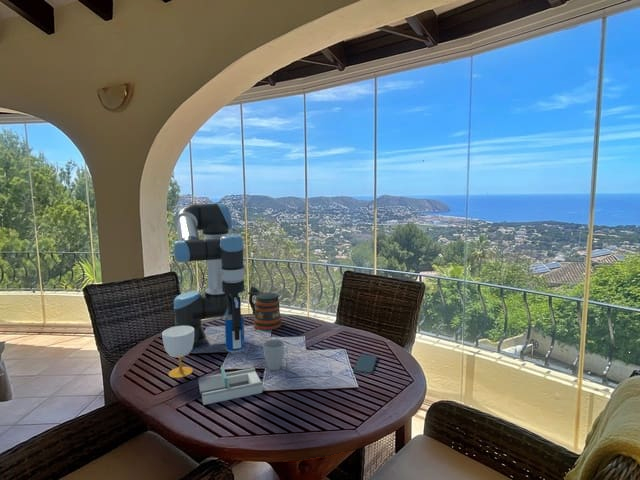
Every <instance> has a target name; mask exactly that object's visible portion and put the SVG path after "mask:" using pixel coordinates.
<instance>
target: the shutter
mask: <svg viewBox="0 0 640 480" xmlns="http://www.w3.org/2000/svg"><path fill="white" fill-rule="evenodd" d="M225 370H226V369H225V367H224V366H220V374H221V375H219V376H213V377H208V378H203V379H200V378H198V379H197V383H198V387H199V394H200V395H202V394H203V393H206V392H211V391H216V390H221V389H226V388H228V381H227V375H226V373H227V372H226V371H225Z"/></svg>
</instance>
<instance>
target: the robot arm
mask: <svg viewBox="0 0 640 480" xmlns="http://www.w3.org/2000/svg"><path fill="white" fill-rule="evenodd" d="M173 227H174V229H175V231H176V232H177V240H176V241H174V242H173V255H174V261H175V262H177V263H181V262H182V263H188V262H189V263H190V262H201V261H202V262H203V261H206V266H207V268H206V269H207V288H205V289H204V294H201V292H200V291H198V290H197V291H194V290H193V291H192V290H191V291H187V292H186V291H185V292H184V293H181V294H179V295H177V296H176V297H174V299H173V305H174V306H173V309H174V327H175V326H191V327H193V328H194V344H193V348H197V347H200V346H202V345H204V344H205V343H206V342H207V335H206V332H205V330H204V328H203V324H202V320H209V319H218V318H226V316H228V315H231V314H232V323H233V329H232V330H231V331H232V337H233V349H236V348H241V330H242V327H241V315H242V313H241V311H242V309H241V305H242V302H241V296H240V295H239V294H240V293H242V292H244V291H245V280H244V279H245V267H244V241H243V240H244V239H243V237H242V236H241V235H237V234H229V230H232V228H233V219H232V214H231V211H230V208H229V206H228V205H227V204H225V203H203V204H202V203H201V204H198V203H195V204H189V205H185V206H184V207H182V208H180V209H179V210H178V211H177V212H176V214H175V215H174V217H173ZM199 231H202V235H203V236H205V239H204V238H203V239H200V236H199ZM228 234H229V235H228ZM193 348H192V349H193Z"/></svg>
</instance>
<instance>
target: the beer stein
mask: <svg viewBox="0 0 640 480" xmlns="http://www.w3.org/2000/svg"><path fill="white" fill-rule="evenodd" d="M247 295H249V296H248V302H249V305H250V308H251V310H252V314H253V316H254V317H253V327H254V328H255V329H257V330H261V331H270V330H271V331H272V330H276V329H278V328H280V327H281V326H282V317H281V313H280V311H281V309H280V299H279V298H280V296H279V294H278V293H275V292H271V291H270V292H269V291H267V292H264V291H260V290H259V289H258V288H257V287H256V286H252V285H251V286H250V290H249V291H248V292H247ZM254 296H255V301H254V302H253V297H254Z"/></svg>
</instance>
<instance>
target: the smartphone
mask: <svg viewBox="0 0 640 480" xmlns="http://www.w3.org/2000/svg"><path fill="white" fill-rule="evenodd" d="M377 361H378V355H376V354H369V353H359V357H358V358H357V361H356V364H355V366H354V368H353V372H354V373H359V374H367V375H372V374H374V373H373V372H374V369H375V366H376V364H377Z"/></svg>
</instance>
